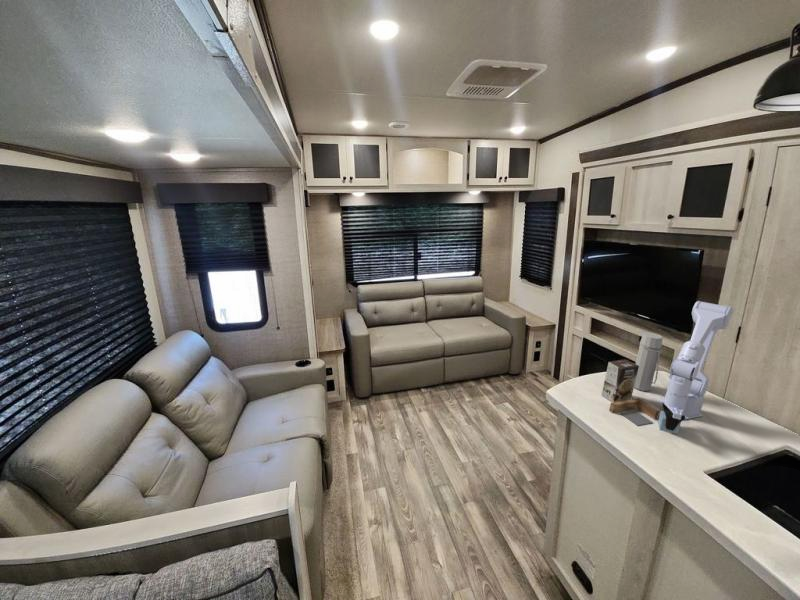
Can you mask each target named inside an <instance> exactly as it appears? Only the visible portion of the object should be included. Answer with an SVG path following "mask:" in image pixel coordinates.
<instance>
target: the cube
mask: <svg viewBox="0 0 800 600" xmlns="http://www.w3.org/2000/svg"><path fill="white" fill-rule="evenodd" d="M657 420H658V421H657V423H658V427H659V430H660V431H663V432H667V433H670V434H673V435H678V434H679V431H680V428H681V424H682V422H680V423H679V424H678V425H677V427H676V428H675V429H674V431H672V430H668V429H666V415H665V413H664V411H663V410H660V412H659V415H658V419H657Z"/></svg>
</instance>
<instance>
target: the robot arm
mask: <svg viewBox="0 0 800 600" xmlns="http://www.w3.org/2000/svg"><path fill="white" fill-rule="evenodd" d="M691 310H692V311H691V316H692V321H693V323H695V325H694V328H693V332H692V335H691V338H690V340H689V341H686V342H684V343H683V344H682V347H681V349H680V352H679V354H678V356H677V357H676V359H673V361H672V362H671V365H670V368H669V377H668V378H669V381H668V385H667V389H666V393H665V395H664V398H659V401H660V403H661V404H662V408H663V410H662V411H664V413H665V415H666V429H668V430H672V431H674V429H675V428H676V427H677V425H678V424H679V423H680V422H681V423H682V422H683V421H685V420H688V419H689V420H690V419H695V418H699V417H702V416H703V414H701V411H702V409H703V405H704V400H705V399H704V398H705V397H704V396H705V395H706V392H707V390H708V387H709V382H710V378H709V376H708V375H707V373H705V372H704V370H703V368H704V365H705V363H706V361H707V357H708V355H709V353H710V352H709V351H710V349H711V347H712V344H713V342H714V338H715V335H717V333H718V331H720V330H725V329H727V327H728V326H729V324H730V321H731V319H732V315H733V313H734V308H733V306H728V305H721V304H715V303H710V302H706V301H701V300H697V301H696V302H695V303H694V305H693V307H692V309H691Z"/></svg>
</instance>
